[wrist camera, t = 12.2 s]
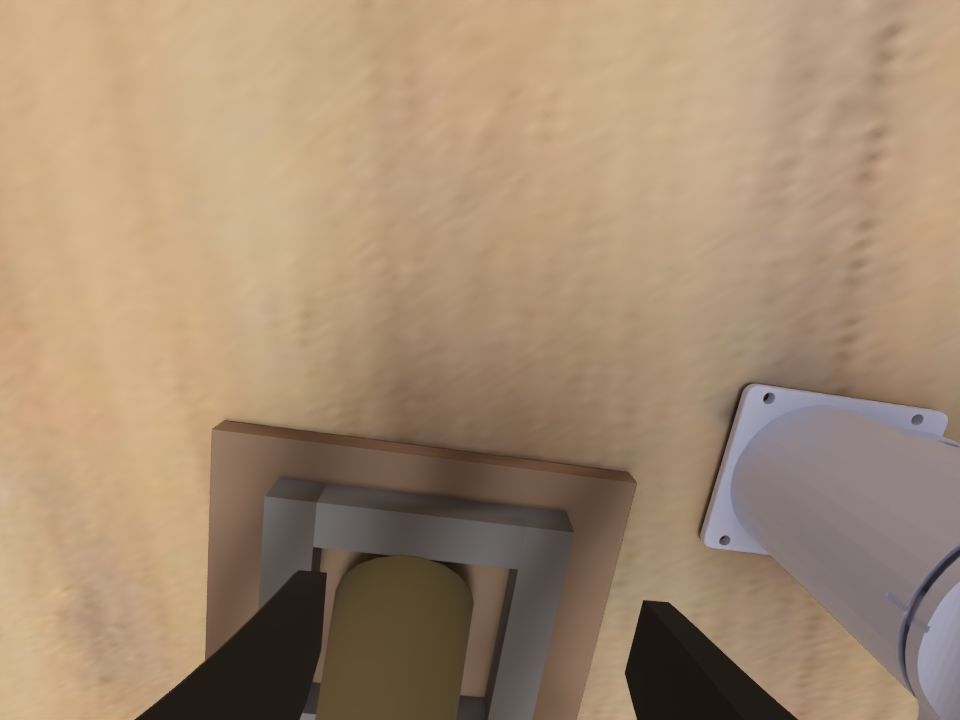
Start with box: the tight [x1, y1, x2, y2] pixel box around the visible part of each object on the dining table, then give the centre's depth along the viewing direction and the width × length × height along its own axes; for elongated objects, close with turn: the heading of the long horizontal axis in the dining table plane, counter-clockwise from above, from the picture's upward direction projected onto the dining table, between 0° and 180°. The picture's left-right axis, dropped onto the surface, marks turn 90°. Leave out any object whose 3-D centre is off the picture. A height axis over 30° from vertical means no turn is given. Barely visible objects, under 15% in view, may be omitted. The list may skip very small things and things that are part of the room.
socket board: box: [205, 421, 637, 720], centre depth 21 cm, size 18×16×2 cm
